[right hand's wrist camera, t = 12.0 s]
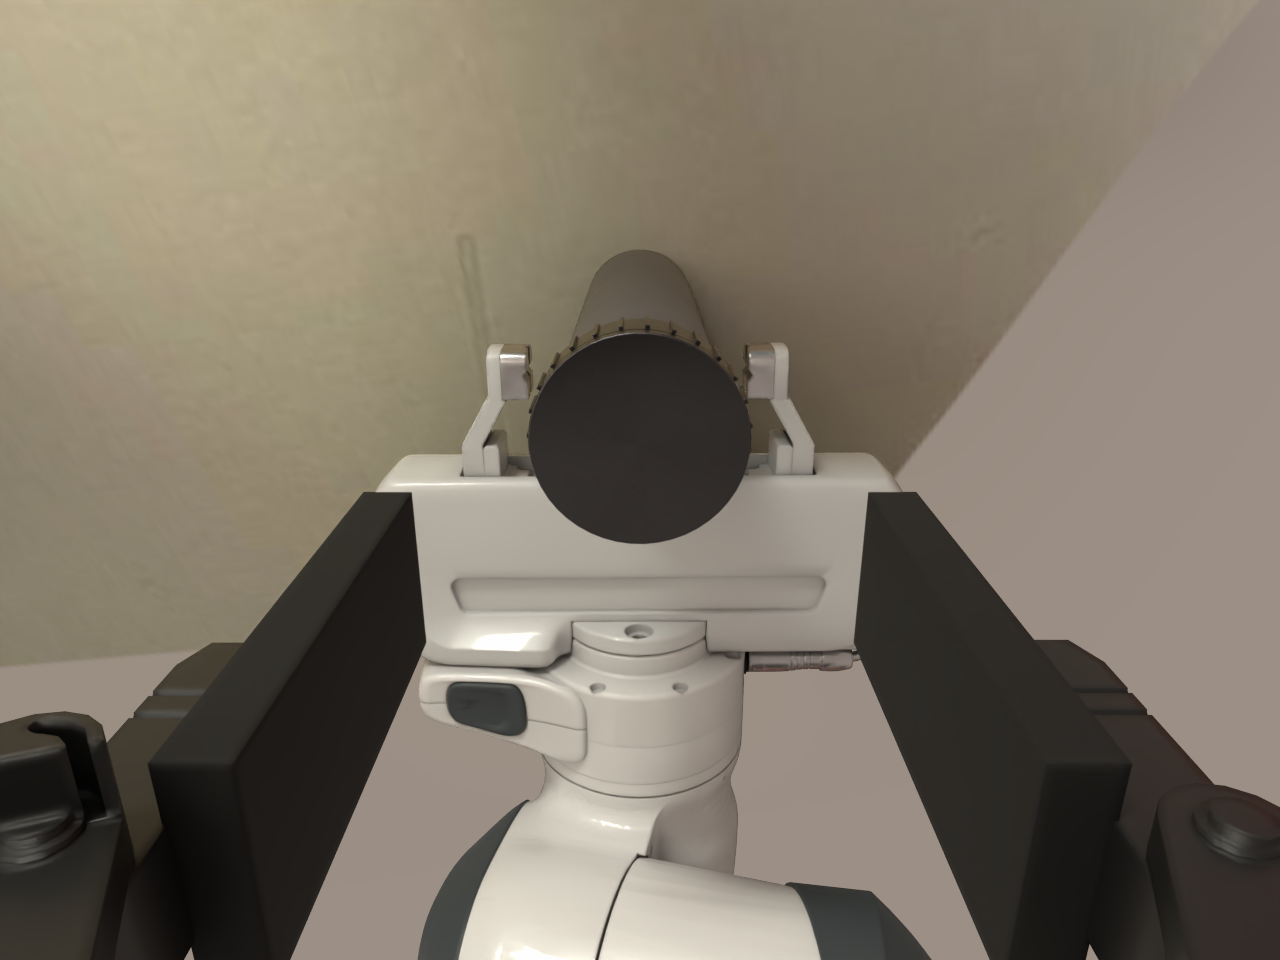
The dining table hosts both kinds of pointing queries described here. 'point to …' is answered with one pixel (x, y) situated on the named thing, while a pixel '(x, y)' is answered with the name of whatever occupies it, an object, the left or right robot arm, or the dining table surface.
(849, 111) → the dining table surface
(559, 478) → the lid
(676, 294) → the dark gray cylinder
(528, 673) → the left robot arm
